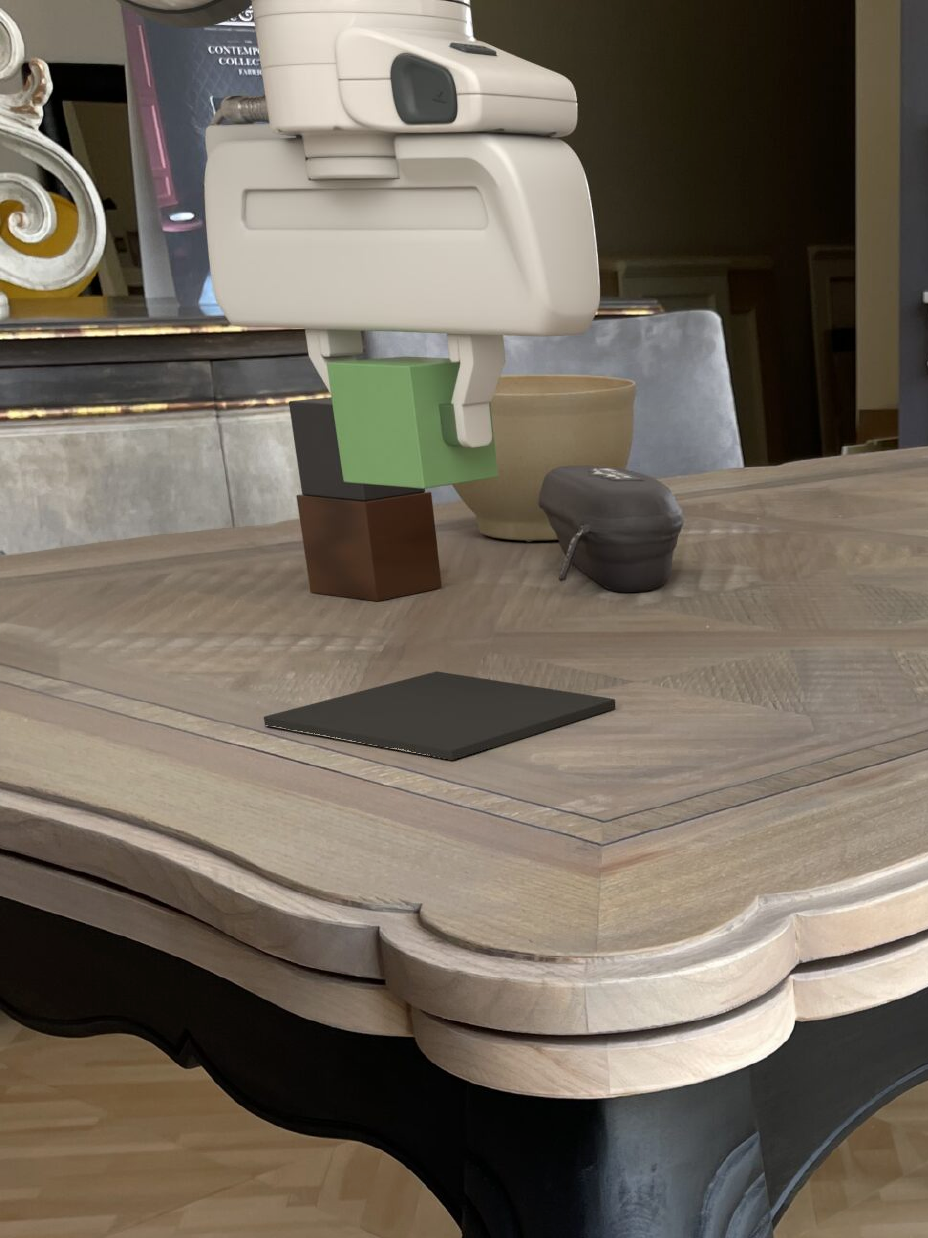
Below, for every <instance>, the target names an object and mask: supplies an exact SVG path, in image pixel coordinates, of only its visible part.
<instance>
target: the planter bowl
mask: <svg viewBox="0 0 928 1238" xmlns="http://www.w3.org/2000/svg"><path fill="white" fill-rule="evenodd" d="M636 385H637V383H636V381H634V380H632V379H628V378H621V377H620V378H619V377H614V376H605V375H590V374H589V375H588V374H563V373H561V374H552V373H551V374H550V373H549V374H548V373H540V374H539V373H538V374H536V373H535V374H534V373H531V374H530V373H529V374H528V373H527V374H501V375H500V378H499V381H498V384H497V387H496V389H495V392H494V395H493V398H492V401H491V411H492V421H493V430H494V440H495V449H496V459H497V468H498V477H496V478H490V479H484V480H477V481H471V482H465V483H458V484H452V485H451V486H452V487H453V489H454V490H455V492H456V494H458V496H459V498H461V500H462V501H463V503H464V504H465V505H466V507H467V508H468V509H469V510H470V511H471V512H472V513H473V514H474V516H475V518H476V521H477V526H478V529H479V532H480V533H481V535H484V536H486V537H490V538H495V539H501V540H511V541H525V542H526V543H532V542H533V541H559V540H558V538H557V535H556V533H555V531H554V530H553V528H552V527H551V525H550V522H549V520H548V517H547V515H546V513H545V512H544V510H543V509H542V508H540V507H539V504H538V503H539V492H540V491H541V487H542V484H543V480H544V478H545V476H546V475H547V474H548V473H549V472H550V471H551V470H553V469H554V468H557V467H563V466H601V467H610V468H618V469H624V470H627V468H628V464H629V460H630V456H631V451H632V445H633V438H634V428H635V427H634V425H635V424H634V423H635V414H634V412H635V411H634V410H635V409H634V405H635V399H636V393H637V386H636Z"/></svg>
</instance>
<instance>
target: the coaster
mask: <svg viewBox="0 0 928 1238" xmlns="http://www.w3.org/2000/svg"><path fill="white" fill-rule="evenodd" d="M616 708H617V705H616V699H615V698H611V697H605V696H597V695H591V694H586V693H580V692H579V693H578V692H573V691H565V690H559V689H552V688H547V687H546V688H545V687H540V686H534V685H527V684H521V683H514V682H508V681H501V680H496V679H495V680H494V679H488V678H483V677H477V676H469V675H462V674H458V673H456V674H455V673H451V672H443V671H439V670H438V671H432V672H428V673H425V674H421V675H417V676H413V677H410V678H406V679H402V680H397V681H394V682H391V683H386V684H383V685H380V686H375V687H372V688H368V689H364V690H359V691H356V692H352V693H349V694H345V695H340V696H337V697H332V698H330V699H326V700H322V701H318V702H315V703H311V704H307V705H302V706H300V707H296V708H291V709H287V710H284V711H279V712H275V713H272V714H269V715H265V716H263V721H264V722H263V723H264V726H265V725H268V726H276V727H282V728H286V729H290V730H297V731H303V732H309V733H313V734H314V733H315V734H320V735H326V736H330V737H335V738H336V737H337V738H341V739H346V740H352V741H356V742H361V743H365V744H372V745H377V746H381V747H388V748H397V749H398V748H399V749H404V750H406V751H407V750H409V751H411V752H416V753H421V754H426V755H427V754H428V755H430V756H435V757H440V758H445V759H448V760H447V761H451V760H453V761H455V760H454V759H456V760H458V759H457V758H460V757H463V758H465V756H466V757H468V756H467V755H469V754H472V755H474V754H473V753H475V752H478V753H480V752H479V751H481V752H484V751H483V750H485V751H487V750H486V749H488V750H490V748H491V749H493V748H497V747H500V746H503V745H506V744H509V743H513V742H515V741H519V740H522V739H525V738H528V737H531V736H534V735H537V734H540V733H544V732H547V731H550V730H553V729H557V728H559V727H563V726H565V725H569V724H571V723H575V722H578V721H581V720H585V719H588V718H591V717H594V716H597V715H600V714H603V713H606V712H610V711H612V710H615V709H616ZM475 754H476V753H475ZM469 756H470V755H469ZM440 758H439V759H440ZM445 759H444V760H445ZM460 759H461V758H460Z"/></svg>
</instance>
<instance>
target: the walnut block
mask: <svg viewBox="0 0 928 1238" xmlns="http://www.w3.org/2000/svg"><path fill="white" fill-rule="evenodd" d="M295 497H296V503H297V511H298V516H299V523H300V530H301V537H302V544H303V551H304V558H305V565H306V570H307V579H308V585H309V592H310V593H312V594H319V595H329V596H335V597H342V598H349V599H356V600H357V599H358V600H363V601H370V602H371V601H372V602H381V601H387V600H391V599H396V598H400V597H405V596H410V595H414V594H415V595H416V594H419V593H424V592H428V591H433V590H437V589H442V588H443V584H442V575H441V566H440V557H439V548H438V541H437V531H436V523H435V513H434V505H433V496H432V492H431V491H427V490H425V492H421V493H414V494H408V495H401V496H395V497H388V498H381V499H375V500H368V501H359V500H349V499H340V498H330V497H320V496H310V495H303V494H302V493H301V494H296V495H295Z"/></svg>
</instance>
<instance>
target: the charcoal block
mask: <svg viewBox="0 0 928 1238" xmlns="http://www.w3.org/2000/svg"><path fill="white" fill-rule="evenodd" d="M288 408H289V413H290V420H291V421H290V422H291V428H292V434H293V442H294V449H295V455H296V462H297V463H296V464H297V468H298V475H299V484H300V488H301V489H300V490H301V494H303V495H310V496H320V497H330V498H340V499H349V500H359V501H368V500H375V499H381V498H388V497H395V496H401V495H408V494H414V493H421V492H425V491H426V489H420V488H408V487H396V486H384V485H372V484H360V483H348V482H344V480H343V473H342V466H341V460H340V453H339V446H338V439H337V432H336V425H335V418H334V411H333V404H332V397H330V396H329V397H320V398H309V399H299V400H298V399H297V400H289V401H288Z"/></svg>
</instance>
